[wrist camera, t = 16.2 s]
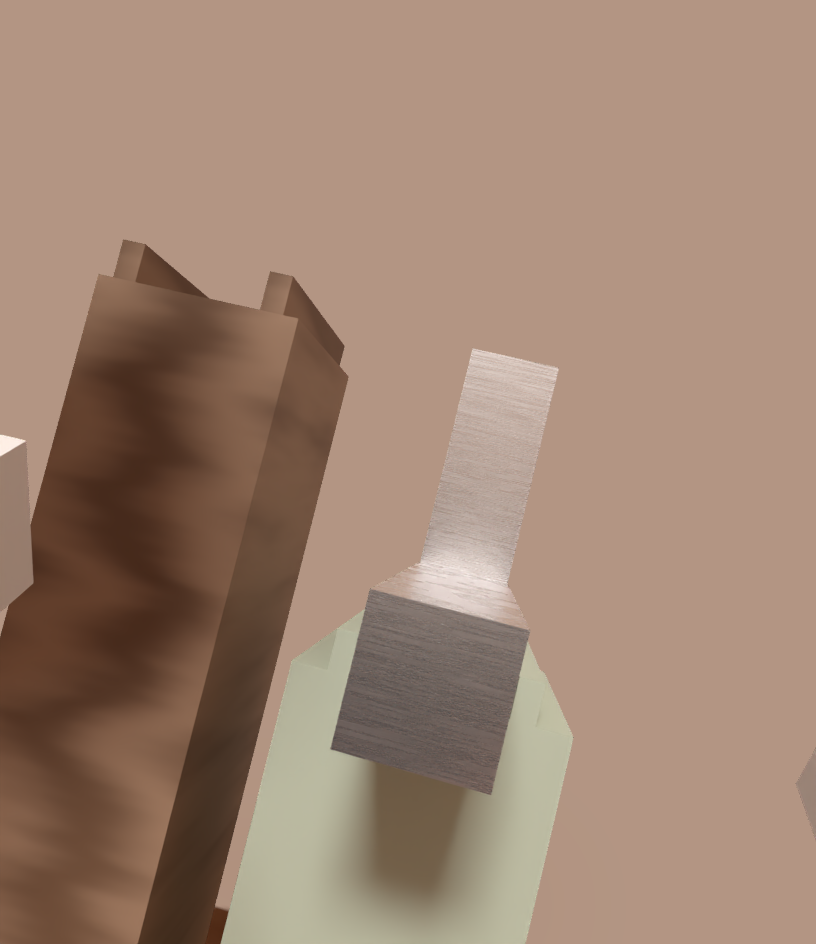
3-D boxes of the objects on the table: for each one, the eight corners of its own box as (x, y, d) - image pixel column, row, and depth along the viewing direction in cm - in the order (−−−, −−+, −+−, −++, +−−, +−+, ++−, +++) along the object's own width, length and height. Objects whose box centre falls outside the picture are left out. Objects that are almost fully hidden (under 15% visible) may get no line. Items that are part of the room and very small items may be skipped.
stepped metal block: (490, 795, 18) (624, 233, 19) (329, 749, 19) (465, 201, 19) (485, 656, 38) (550, 384, 39) (407, 635, 39) (473, 366, 39)
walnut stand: (-140, 1151, 28) (108, 236, 29) (35, 975, 39) (209, 315, 40) (65, 1226, 27) (308, 279, 29) (184, 1025, 38) (355, 348, 40)
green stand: (138, 1269, 26) (302, 618, 27) (245, 1037, 38) (356, 591, 39) (424, 1376, 25) (583, 693, 26) (442, 1102, 37) (550, 642, 38)
